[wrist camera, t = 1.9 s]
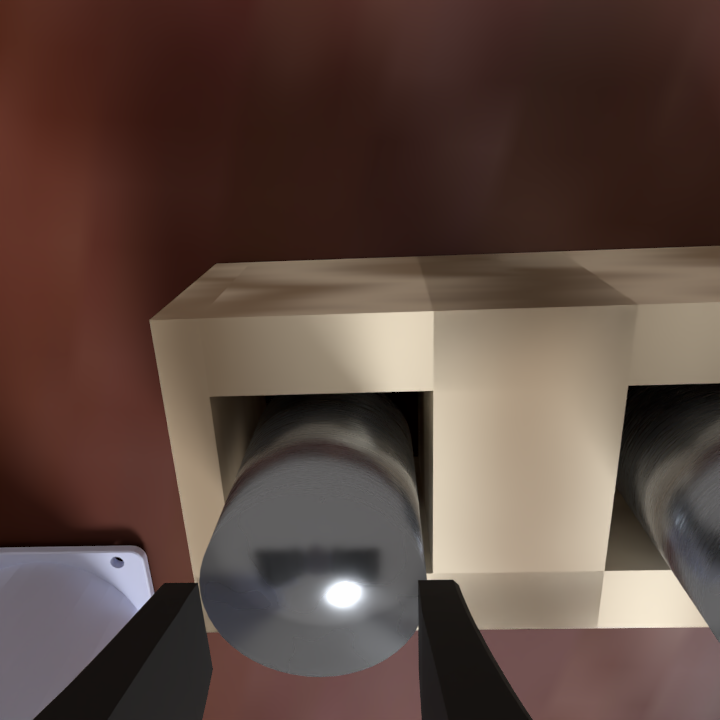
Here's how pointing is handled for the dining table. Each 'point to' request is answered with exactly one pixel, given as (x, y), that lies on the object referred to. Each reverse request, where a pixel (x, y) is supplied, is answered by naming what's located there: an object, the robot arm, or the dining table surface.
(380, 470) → the peg
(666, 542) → the peg
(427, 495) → the block
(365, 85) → the dining table surface
